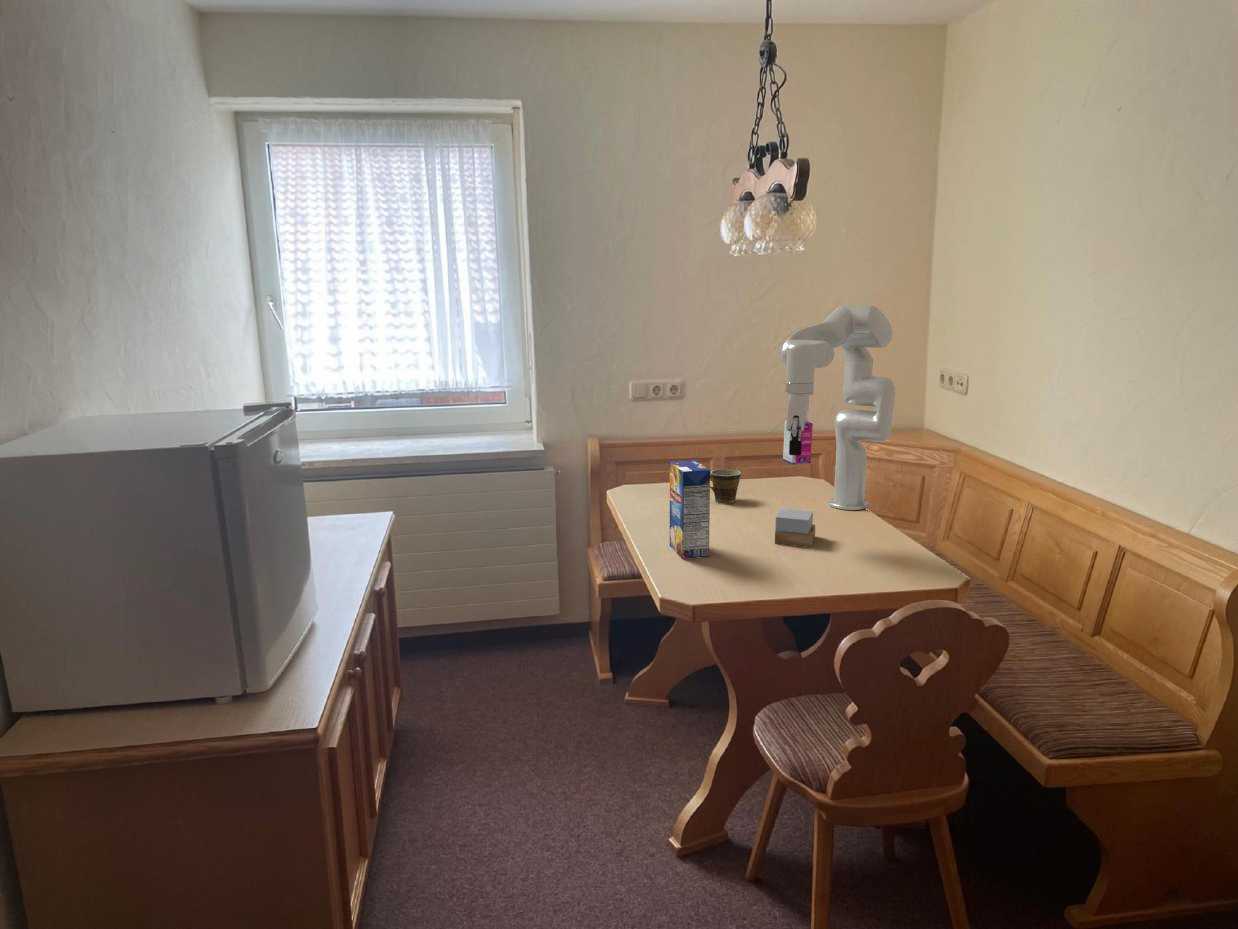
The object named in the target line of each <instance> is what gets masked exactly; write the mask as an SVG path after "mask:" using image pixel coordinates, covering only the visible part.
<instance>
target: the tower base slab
mask: <svg viewBox="0 0 1238 929" xmlns="http://www.w3.org/2000/svg"><path fill="white" fill-rule="evenodd" d="M815 538H816V524H814V523H813V525H812V527H811V529H810V531H809V533H808V534H802V533H792V532H782V531H775V530H774V544H775V545H782V546H792V545H796V546H795V547H803V546H807V547H806V548H812V546H813V543H814V541H815ZM813 540H814V541H813Z"/></svg>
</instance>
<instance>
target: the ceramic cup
mask: <svg viewBox="0 0 1238 929" xmlns="http://www.w3.org/2000/svg"><path fill="white" fill-rule="evenodd" d="M741 475H742V473H741V471H739V470H736V469H732V468H731V469H729V468H718V469H714V470H710V482H712V486H711V485H710V490H712V492H713V494H714V499H715V503H717V502H718V503H717V504H721V503H730V504H734V503H736V499H737V494H738V488H739V483H740V481H741ZM733 502H734V503H733Z"/></svg>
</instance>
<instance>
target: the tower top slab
mask: <svg viewBox="0 0 1238 929" xmlns="http://www.w3.org/2000/svg"><path fill="white" fill-rule="evenodd" d="M813 519H814V511H811V510H810V511H809V510H800V509H799V510H798V509H789V508H788V509H787V508H781V509H780V510H779V512H778V513H777V515H776V516H775V530H774V532H775V531H782V532H792V533H802V534H808V533H809V531H810V529H811V527H812V525H813V524H814V520H813Z"/></svg>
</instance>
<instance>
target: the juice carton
mask: <svg viewBox="0 0 1238 929" xmlns="http://www.w3.org/2000/svg"><path fill="white" fill-rule="evenodd" d="M710 475H711V469H710V468H708V467H707V466H705V465H703V464H702V463H700V462H698V460H682V461H669V547H670V546H671V547H672V548H673V549H674V550H673V549H672V548H671V547H670V548H671V549H672V550H673V551H674V552H675V551H676V552H675V553H676V554H677V555H678V557H680V558H681V560H689V558H692V559H698V558H697V557H702V558H709V557H710V521H711V520H710V516H711V515H710V514H711V513H710V512H711V511H710V507H711V506H710V505H711V504H710V503H711V502H710V500H711V499H710V498H711V488H710V486H711V479H710Z"/></svg>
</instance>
